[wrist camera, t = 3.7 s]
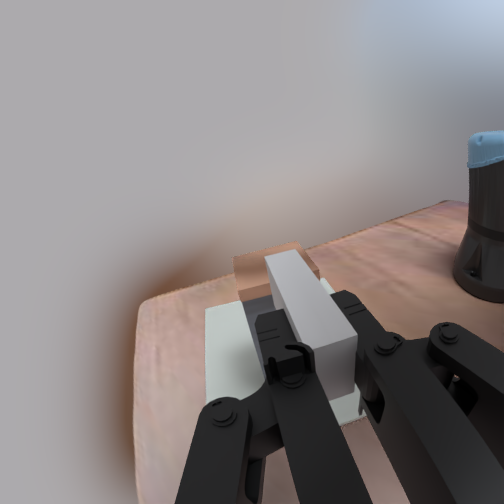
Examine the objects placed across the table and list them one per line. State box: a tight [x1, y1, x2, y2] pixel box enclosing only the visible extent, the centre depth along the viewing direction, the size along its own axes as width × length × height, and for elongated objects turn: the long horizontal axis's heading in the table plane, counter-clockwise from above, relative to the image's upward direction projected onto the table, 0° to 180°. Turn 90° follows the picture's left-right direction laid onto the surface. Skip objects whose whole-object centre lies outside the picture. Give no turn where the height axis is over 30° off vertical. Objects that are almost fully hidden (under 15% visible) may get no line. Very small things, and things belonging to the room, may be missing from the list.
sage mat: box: [205, 278, 367, 426], centre depth 33 cm, size 26×20×1 cm
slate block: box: [232, 241, 320, 379], centre depth 26 cm, size 6×6×14 cm
